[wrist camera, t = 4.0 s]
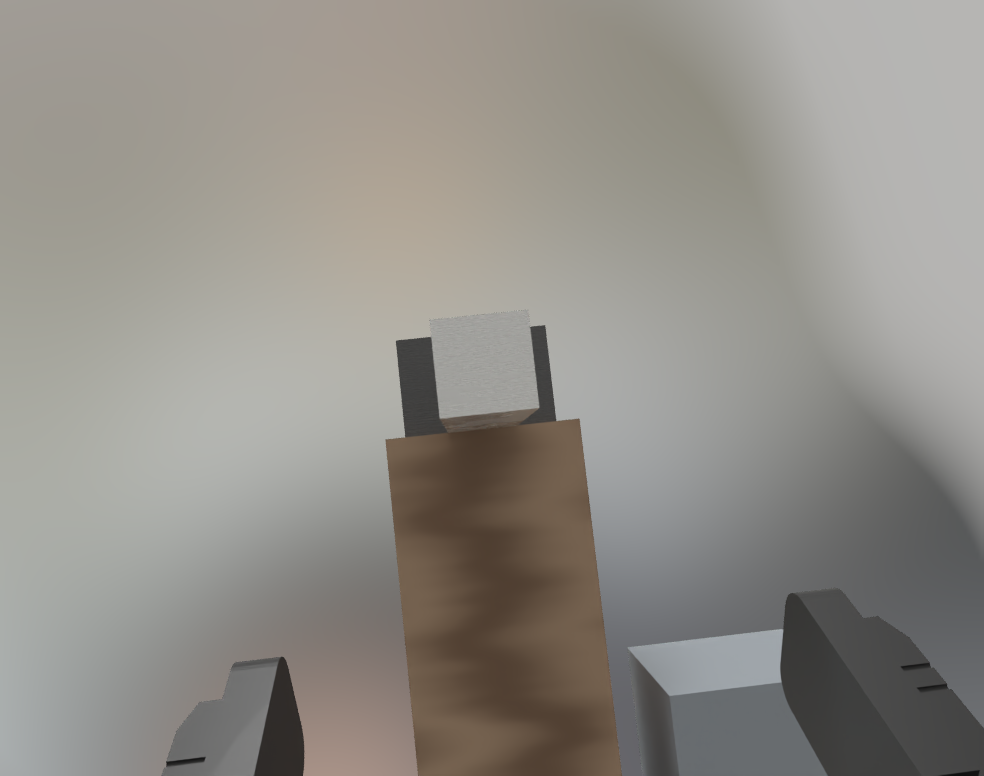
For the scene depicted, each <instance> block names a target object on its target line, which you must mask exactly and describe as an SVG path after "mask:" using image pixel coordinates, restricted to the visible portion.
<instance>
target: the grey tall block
mask: <svg viewBox="0 0 984 776" xmlns="http://www.w3.org/2000/svg"><path fill="white" fill-rule="evenodd" d="M782 639H783V629H778V630H770V631H762V632H753V633H745V634H737V635H728V636H720V637H711V638H703V639H695V640H686V641H678V642H670V643H661V644H653V645H644V646H636V647H628V648H627V649H628V658H629V665H630V674H631V682H632V691H633V699H634V707H635V716H636V724H637V732H638V740H639V748H640V756H641V764H642V773H643V776H828V775H827V773H826V772H825V770H824V768H823V766H822V764H821V763H820V761H819V759H818V757H817V756H816V754H815V752H814V750H813V748H812V747H811V745H810V743H809V741H808V739H807V738H806V736H805V734H804V732H803V730H802V729H801V727H800V725H799V723H798V722H797V720H796V718H795V716H794V714H793V713H792V711H791V709H790V707H789V705H788V702H787V700H786V697H785V694H784V691H783V687H782V682H781V674H780V662H781V650H782Z"/></svg>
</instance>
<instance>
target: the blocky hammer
mask: <svg viewBox="0 0 984 776" xmlns="http://www.w3.org/2000/svg"><path fill="white" fill-rule="evenodd" d="M529 322H530V321H529V312H528V310H521V311H511V312H501V313H492V314H482V315H472V316H462V317H452V318H443V319H433V320H430V329H431V337H427V338H417V339H408V340H398V341H396V346H397V357H398V367H399V377H400V387H401V396H402V407H403V417H404V426H405V437H415V436H424V435H433V434H442V433H452V432H461V431H470V430H479V429H489V428H498V427H507V426H516V425H526V424H535V423H544V422H553V421H556V415H555V406H554V398H553V389H552V381H551V372H550V363H549V355H548V348H547V347H548V346H547V338H546V329H545V325H544V326H534V327H530V323H529Z"/></svg>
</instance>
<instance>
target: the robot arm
mask: <svg viewBox="0 0 984 776" xmlns="http://www.w3.org/2000/svg"><path fill="white" fill-rule="evenodd" d="M780 674H781V682H782V687H783V691H784V694H785V697H786V700H787V702H788V705H789V707H790V709H791V711H792V713H793V714H794V716H795V718H796V720H797V722H798V723H799V725H800V727H801V729H802V730H803V732H804V734H805V736H806V738H807V739H808V741H809V743H810V745H811V747H812V748H813V750H814V752H815V754H816V756H817V757H818V759H819V761H820V763H821V764H822V766H823V768H824V770H825V772H826V773H827V775H828V776H984V728H983V727H982V726H981V725H980V723H979V722H978V721H977V720H976V719H975V717H974V716H973V715H972V714H971V712H970V711H969V710H968V709H967V707H966V706H965V705H964V704H963V703H962V701H961V700H960V699H959V698H958V697H957V695H956V694H955V693H954V692H953V690H951V689H948V687H947V683H946V682H945V681H944V680H943V678H942V677H941V676H940V675H939V673H938V672H937V671H936V670H935V669H934V668H931V667H930V663H929V661H928V660H927V659H926V657H925V656H924V655H923V654H922V653H921V651H920V650H919V649H918V648H917V647H916V645H915V644H914V643H913V642H912V640H911V639H910V638H909V637H908V636H906V635H905V634H903V633H902V632H900V631H899V630H897V629H896V628H894V627H893V626H891V625H890V624H888V623H887V622H885V621H884V620H882V619H881V618H879V617H878V616H877V617H870V618H863V617H862V616H861V615H860V613H859V612H858V611H857V609H856V608H855V607H854V606H853V604H852V603H851V602H850V600H849V599H848V598H847V596H846V595H845V594H844V593H843V592H842V591H841V590H840V589H838V588H831V589H822V590H814V591H806V592H797V593H791V594H789V595H788V597H787V600H786V605H785V617H784V628H783V639H782V650H781V662H780ZM166 763H167V766H166V768H164V770H163V773H162V776H303V770H304V739H303V732H302V726H301V722H300V717H299V713H298V709H297V704H296V700H295V696H294V691H293V687H292V683H291V678H290V674H289V669H288V666H287V662H286V660H285V659H284V657H276V658H268V659H260V660H252V661H244V662H236V663H234V664H233V666H232V668H231V671H230V674H229V677H228V681H227V685H226V688H225V692H224V695H223V698H222V699H221V700H212V701H204V702H200V703H199V704H198V705H197V706H196V707H195V709H194V710H193V711H192V712H191V714H190V715H189V716H188V717H187V719H186V720H185V721H184V722H183V723H182V725H181V726H180V727H179V729H178V730H177V731H176V734H175V737H174V740H173V743H172V746H171V749H170V752H169V755H168V758H167V761H166Z"/></svg>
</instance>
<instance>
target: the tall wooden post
mask: <svg viewBox="0 0 984 776" xmlns="http://www.w3.org/2000/svg"><path fill="white" fill-rule="evenodd" d="M386 448H387V460H388V469H389V480H390V489H391V500H392V511H393V522H394V531H395V542H396V552H397V563H398V573H399V583H400V594H401V603H402V614H403V624H404V634H405V645H406V655H407V665H408V676H409V686H410V696H411V707H412V717H413V727H414V738H415V747H416V758H417V768H418V776H622V773H621V765H620V756H619V747H618V739H617V731H616V722H615V714H614V706H613V698H612V689H611V680H610V672H609V663H608V655H607V647H606V638H605V631H604V621H603V613H602V606H601V596H600V588H599V579H598V571H597V563H596V555H595V546H594V537H593V529H592V521H591V512H590V504H589V495H588V487H587V479H586V471H585V462H584V453H583V446H582V437H581V429H580V420H579V419H573V420H563V421H553V422H544V423H535V424H526V425H516V426H507V427H498V428H489V429H479V430H470V431H461V432H452V433H442V434H433V435H424V436H415V437H405V438H396V439H388V440H386Z"/></svg>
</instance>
